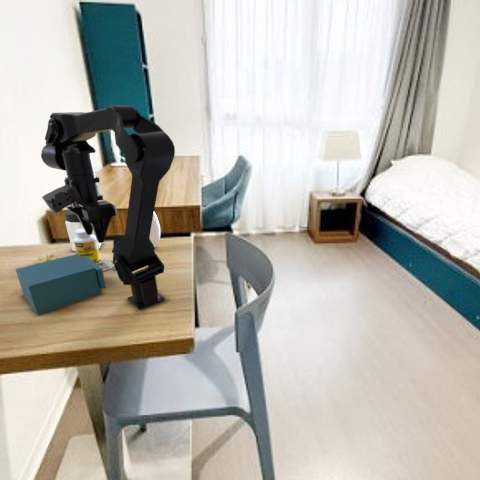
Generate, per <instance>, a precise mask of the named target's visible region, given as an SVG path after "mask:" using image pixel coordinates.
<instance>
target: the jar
mask: <svg viewBox="0 0 480 480" xmlns="http://www.w3.org/2000/svg"><path fill="white" fill-rule="evenodd" d="M63 214H64V219H65V227H66V231H67V235H68V240H69V242H70V243H69V244H70V248H71V251H73V252H76V248H75V244H74V238H75V237H76V234H75V231H76V230H77V229H81V228H83V226H82V224H81V222H80V220H79V218H78V217H77V215H76V214H75V213H74V212H72V211H71V210H69V209H66V210H64V211H63ZM92 235H94V236H95V233H94V230H93V231H92ZM95 237H96V236H95ZM96 240H97V238H96ZM97 245H98V250H99V249H101V246H102V243H99V242H98V240H97Z"/></svg>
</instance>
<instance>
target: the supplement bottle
mask: <svg viewBox="0 0 480 480" xmlns="http://www.w3.org/2000/svg"><path fill="white" fill-rule="evenodd" d="M75 234H76V237H75V238H74V244H75V248H76V251H75V252H76V254H78V255H80V256H81V257H84V256H87V257H88V258H89V259H91V260H92V261H93V262H94V263H99V262H102V260H101V255H100V250H99V249H98V245H97V240H96V237H95V236H94V235H92V234H91V235H87V234H86V232H85V230H84V228H81V229H77V230H76V231H75Z"/></svg>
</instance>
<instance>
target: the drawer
mask: <svg viewBox="0 0 480 480" xmlns="http://www.w3.org/2000/svg"><path fill="white" fill-rule="evenodd" d="M82 258H83V259H84V260H86V261H87V262H88V263H89V264H91V265H92V266H93V267H94V268H95V271H96V276H97V280H98V285H99V289H100V290H104V289H107V285H106V280H105V277H104V273H107V272H110V271H111V272H117V271H116V269H115V266H114V264H113V262H110V261H109V260H108V259H107V258H104V259H102V260H101V262H99V263H94V262H93V261H92V260H91V259H89V258H88V257H87V256H84V257H82ZM102 265H103V266H105V267H107V268H102V267H101V266H102Z"/></svg>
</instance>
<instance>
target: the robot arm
mask: <svg viewBox="0 0 480 480" xmlns="http://www.w3.org/2000/svg"><path fill="white" fill-rule="evenodd" d="M126 129H127V130H129V129H130V130H131V129H132V130H133V131H134V132H136V133H131V134H129V133H128V132H127V131H126ZM109 131H110V132H111V131H113V133H114V141H115V144H116V147H117V148H118V149H119V150H120V151H121V152H122V153H123V154H124V162H125V165H126V166H127V169H128V170H129V172H130V174H131V183H130V184H131V185H130V192H129V200H128V206H127V215H126V223H125V229H124V230H125V232H124V234H122V235H119V236H116V237H115V236H114V238H113V241H112V245H113V246H112V247H113V248H112V250H111V253H112V264H113V265H114V266H115V269H116V271H115V272H116V274H117V276H118V278H119V281H120V282H122V284H123V286H130V290H131V296H129V297H127V301H128V302H130V304H132V305H133V306H135V308H136V309H138V310H143V309H146V308H149V307H151V306H154V305H156V304H159V303H162V302H164V301H165V302H166V298H165V297H164V296H163V295H162V294H160V293H159V290H158V289H159V288H158V283H157V276H158V275H160V274H164V272H165V265H164V263H163V262H162V260H161V259H160V257H159V256H158V254H156V251H155V248H156V246H155V247H154V245H153V244H152V242H151V240H150V239H149V237H150V231H151V225H152V220H153V214H154V212H155V208H156V203H157V197H158V192H159V185H160V182H161V180H162V179H163V178H164V177H165V176H166V174H167V173H168V172H170V169H171V167H172V163H173V161H174V159H175V155H176V147H175V145H174V142H173V140H172V139H171V138H170V136H169V135H168V134H167V133H166V132H165V131H164V130H163V128H161V127H160V126H159V125H158V124H157V123H156V122H154V121H153V120H151V119H149V118H147V117H146V116H144V115H142V114H141V112H139V110H138V109H137V108H136V107H134V106H132V105H129V104H126V105H125V104H123V105H121V104H120V105H116V104H115V105H110V106H108V107H106V108H101V109H96V110H92V111H87V112H84V111H83V112H82V111H73V112H72V111H71V112H68V111H67V112H52V113H51V114H50V115H49V119H48V122H47V129H46V133H45V137H44V140H45V145H44V146H43V147H42V149H41V152H40V153H41V154H40V158H41V160H42V162H43V163H44V164H45V165H46V166H47V167H48V168H52V169H55V170H60V171H64V172H66V173H65V174H66V177H64V179H63V181H64V182H63V183H64V185H63V186H60V187H57V188H55V189H53V190H52V191H49V192H47V193H46V194H44V195H42V196H41V198H42V200H43V201H44V202H45V204H46V205H47V207H48V208H49V210H51V211H53V212H54V213H55V214H57V213H61V212H62V211H63V209H65V208H66V210H68V209H69V210H71V211H72V212H74V213H75V214H76V215H77V217H78V218H79V220H80V222H81V224H82V226H83V228H84V230H85V232H86V234H87V235H91V234H92V231H93V230H94V233H95V236H96V238H97V240H98V242H99V243H101V244H102V243H104V242H105V238H106V236H107V233H108V229H109V226H110V224H111V221H112V218H114V217H116V216H118V211H117V206H116V205H114V204H113V203H111V202H109V201H108V200H104V196H103V195H102V194H100V191H99V186H98V183H100V182H101V181H100V177H98V176H97V175H96V171H95V166H94V161H93V156H92V154H95V153H96V152H97V151H96V149H95V148H94V147H93V146H92V145H90V144H89V142H88V141H89V140H91V139H93V138H94V137H96V134H97V133H104V132H109Z"/></svg>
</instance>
